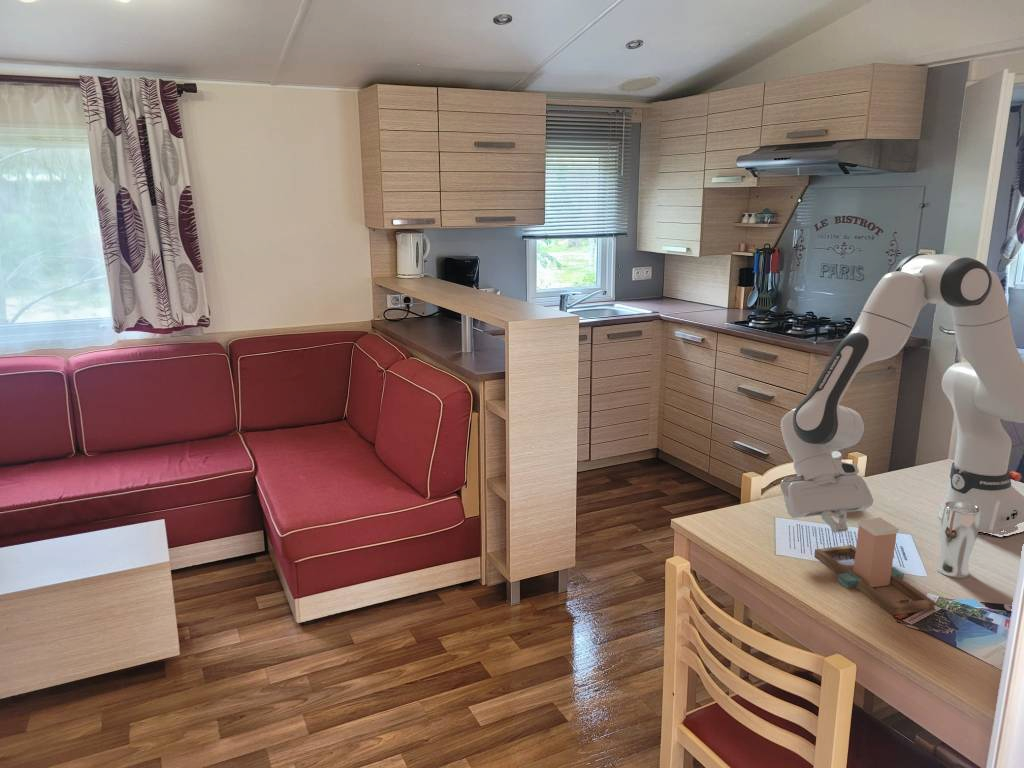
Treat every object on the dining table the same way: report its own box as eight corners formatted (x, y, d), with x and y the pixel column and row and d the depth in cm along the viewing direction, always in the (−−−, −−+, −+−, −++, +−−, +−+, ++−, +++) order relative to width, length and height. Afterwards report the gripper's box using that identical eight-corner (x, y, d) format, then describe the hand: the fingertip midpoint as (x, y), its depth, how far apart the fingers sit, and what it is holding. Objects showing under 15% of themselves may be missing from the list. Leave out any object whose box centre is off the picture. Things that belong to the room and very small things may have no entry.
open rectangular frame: (858, 550, 170) (859, 544, 170) (942, 608, 147) (943, 600, 146) (806, 556, 168) (807, 550, 167) (883, 616, 144) (884, 609, 144)
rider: (873, 572, 160) (880, 517, 157) (890, 585, 155) (898, 528, 152) (851, 575, 159) (858, 520, 156) (868, 588, 154) (875, 531, 151)
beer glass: (970, 582, 156) (981, 516, 153) (932, 573, 160) (942, 509, 156) (971, 568, 162) (982, 504, 158) (934, 560, 166) (944, 497, 162)
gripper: (784, 472, 168) (806, 531, 161) (863, 465, 172) (888, 521, 165) (771, 483, 173) (792, 541, 166) (848, 476, 177) (871, 531, 171)
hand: (840, 531), depth 166 cm, fingers closed
